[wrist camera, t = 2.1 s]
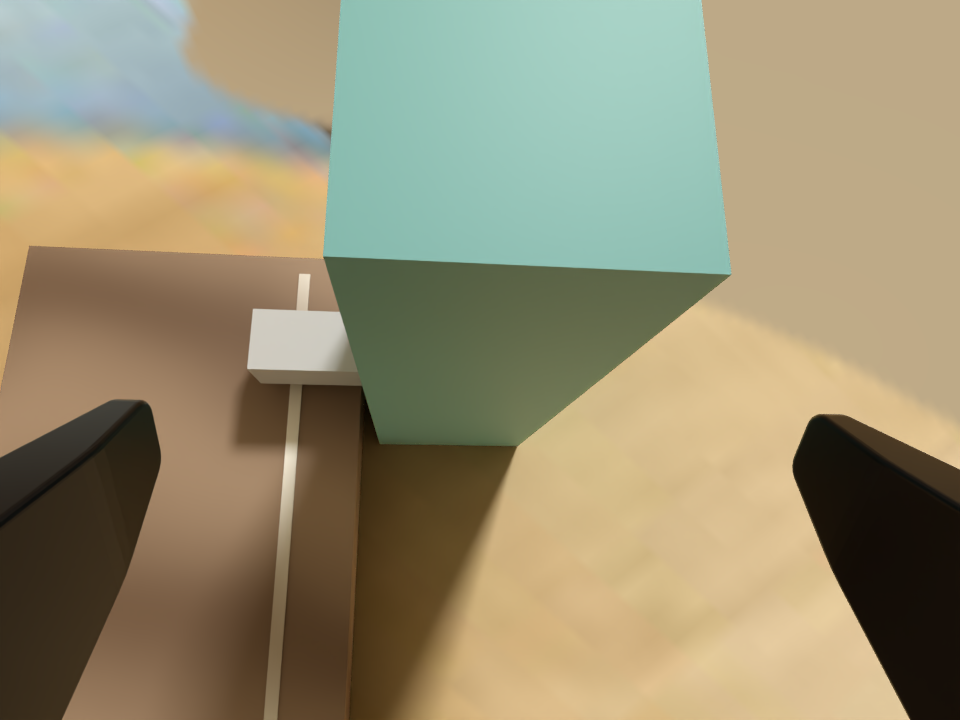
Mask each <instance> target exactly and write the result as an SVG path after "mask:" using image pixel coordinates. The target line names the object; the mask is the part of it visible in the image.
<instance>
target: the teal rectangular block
mask: <svg viewBox="0 0 960 720" xmlns="http://www.w3.org/2000/svg"><path fill="white" fill-rule="evenodd" d="M334 94H335V95H334V108H333V122H332V136H331V151H330V165H329V179H328V194H327V208H326V222H325V237H324V251H323V258H324V261H325V264H326V267H327V271H328V274H329V277H330V281H331V284H332V287H333V291H334V294H335V297H336V301H337V304H338V307H339V311H340V312H328V311H300V310H273V309H253V314H252V324H251V334H250V344H249V355H248V365H247V369H248V370H249V371H250V373H251V374H252V375H253V376H254V377H255V378H256V379H257V380H258V381H259V382H260V383H267V384H307V385H348V386H362V387H363V390H364V393H365V397H366V400H367V403H368V407H369V410H370V413H371V417H372V420H373V423H374V427H375V430H376V433H377V437H378V440H379V443H380V444H406V445H472V446H518V445H519V444H521V443H522V442H523V441H524V440H526V439H527V438H528V437H529V436H531V435H532V434H533V433H534V432H536V431H537V430H538V429H539V428H541V427H542V426H543V425H544V424H546V423H547V422H548V421H549V420H551V419H552V418H553V417H554V416H556V415H557V414H558V413H559V412H561V411H562V410H563V409H564V408H566V407H567V406H568V405H569V404H571V403H572V402H573V401H574V400H576V399H577V398H578V397H579V396H581V395H582V394H583V393H584V392H586V391H587V390H588V389H589V388H591V387H592V386H593V385H594V384H596V383H597V382H598V381H599V380H601V379H602V378H603V377H604V376H606V375H607V374H608V373H609V372H611V371H612V370H613V369H614V368H616V367H617V366H618V365H619V364H621V363H622V362H623V361H624V360H625V359H627V358H628V357H629V356H630V355H632V354H633V353H634V352H635V351H637V350H638V349H639V348H640V347H642V346H643V345H644V344H645V343H647V342H648V341H649V340H650V339H652V338H653V337H654V336H655V335H657V334H658V333H659V332H660V331H662V330H663V329H664V328H665V327H667V326H668V325H669V324H670V323H672V322H673V321H674V320H675V319H677V318H678V317H679V316H680V315H682V314H683V313H684V312H685V311H687V310H688V309H689V308H690V307H692V306H693V305H694V304H695V303H697V302H698V301H699V300H700V299H702V298H703V297H704V296H705V295H707V294H708V293H709V292H710V291H712V290H713V289H714V288H715V287H717V286H718V285H719V284H720V283H722V282H723V281H724V280H725V279H727V278H728V277H729V276H730V275H731V267H730V258H729V249H728V240H727V230H726V223H725V212H724V203H723V194H722V185H721V176H720V167H719V157H718V148H717V140H716V130H715V121H714V112H713V103H712V94H711V85H710V76H709V66H708V57H707V48H706V39H705V29H704V21H703V11H702V3H701V0H341V8H340V23H339V36H338V51H337V66H336V79H335V93H334Z"/></svg>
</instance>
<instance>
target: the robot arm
mask: <svg viewBox="0 0 960 720" xmlns="http://www.w3.org/2000/svg"><path fill="white" fill-rule="evenodd" d="M160 465H161V450H160V445H159V440H158V436H157V431H156V426H155V422H154V417H153V412H152V409H151V407H150V405H149V403H147V402H146V401H144V400H132V399H114V400H110V401H108V402H106V403H104V404H102V405H100V406H98V407H96V408H94V409H92V410H90V411H89V412H87V413H85V414H83V415H81V416H79V417H77V418H75V419H73V420H71V421H69V422H67V423H65V424H63V425H62V426H60V427H58V428H56V429H54V430H52V431H50V432H48V433H46V434H44V435H42V436H40V437H38V438H36V439H35V440H33V441H31V442H29V443H27V444H25V445H23V446H21V447H19V448H17V449H15V450H13V451H11V452H9V453H7V454H6V455H4V456H2V457H0V720H62V718H63V716H64V714H65V712H66V710H67V707H68V705H69V703H70V701H71V698H72V696H73V694H74V692H75V689H76V687H77V685H78V683H79V681H80V678H81V676H82V674H83V672H84V669H85V667H86V665H87V663H88V660H89V658H90V656H91V654H92V651H93V649H94V647H95V645H96V643H97V640H98V638H99V636H100V634H101V631H102V629H103V627H104V625H105V622H106V620H107V618H108V616H109V614H110V611H111V609H112V607H113V605H114V602H115V600H116V598H117V596H118V593H119V591H120V589H121V586H122V584H123V582H124V579H125V577H126V574H127V572H128V569H129V566H130V563H131V560H132V557H133V554H134V551H135V547H136V544H137V541H138V538H139V535H140V531H141V528H142V525H143V522H144V519H145V515H146V512H147V509H148V506H149V502H150V499H151V496H152V493H153V490H154V486H155V483H156V480H157V477H158V473H159V470H160ZM792 466H793V475H794V478H795V481H796V483H797V486H798V488H799V491H800V493H801V496H802V498H803V501H804V503H805V506H806V508H807V511H808V513H809V516H810V518H811V521H812V523H813V526H814V528H815V531H816V533H817V536H818V538H819V541H820V543H821V546H822V548H823V551H824V553H825V555H826V558H827V560H828V562H829V565H830V567H831V569H832V571H833V573H834V575H835V577H836V579H837V581H838V584H839V586H840V587H841V589H842V591H843V593H844V595H845V597H846V599H847V601H848V603H849V605H850V607H851V608H852V610H853V612H854V614H855V616H856V618H857V620H858V622H859V624H860V626H861V627H862V629H863V631H864V633H865V635H866V637H867V639H868V641H869V643H870V645H871V646H872V648H873V650H874V652H875V654H876V656H877V658H878V660H879V662H880V664H881V665H882V667H883V669H884V671H885V673H886V675H887V677H888V679H889V681H890V683H891V685H892V686H893V688H894V690H895V692H896V694H897V696H898V698H899V700H900V702H901V704H902V705H903V707H904V709H905V711H906V713H907V715H908V717H909V719H910V720H960V469H957V468H955V467H953V466H951V465H949V464H947V463H945V462H943V461H941V460H939V459H936V458H934V457H932V456H930V455H928V454H926V453H924V452H922V451H920V450H918V449H916V448H913V447H911V446H909V445H907V444H905V443H903V442H901V441H899V440H897V439H895V438H892V437H890V436H888V435H886V434H884V433H882V432H880V431H878V430H876V429H874V428H872V427H869V426H867V425H865V424H863V423H861V422H859V421H857V420H855V419H853V418H851V417H848V416H846V415H840V414H818V415H816V416H814V417H812V418H811V420H810V421H809V423H808V425H807V427H806V429H805V432H804V434H803V437H802V439H801V442H800V444H799V446H798V449H797V451H796V454H795V456H794V459H793V465H792Z"/></svg>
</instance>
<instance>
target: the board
mask: <svg viewBox="0 0 960 720" xmlns="http://www.w3.org/2000/svg"><path fill="white" fill-rule="evenodd" d="M253 309H273V310H300V311H328V312H340V311H339V307H338V304H337V301H336V297H335V294H334V291H333V287H332V284H331V281H330V277H329V274H328V271H327V267H326V264H325V261H324V259H312V258H290V257H267V256H245V255H222V254H200V253H177V252H155V251H132V250H110V249H88V248H65V247H43V246H29V250H28V255H27V260H26V265H25V270H24V275H23V280H22V285H21V290H20V295H19V300H18V305H17V310H16V315H15V320H14V325H13V330H12V335H11V340H10V345H9V350H8V355H7V360H6V365H5V370H4V375H3V380H2V385H1V390H0V457H2V456H4V455H6V454H7V453H9V452H11V451H13V450H15V449H17V448H19V447H21V446H23V445H25V444H27V443H29V442H31V441H33V440H35V439H36V438H38V437H40V436H42V435H44V434H46V433H48V432H50V431H52V430H54V429H56V428H58V427H60V426H62V425H63V424H65V423H67V422H69V421H71V420H73V419H75V418H77V417H79V416H81V415H83V414H85V413H87V412H89V411H90V410H92V409H94V408H96V407H98V406H100V405H102V404H104V403H106V402H108V401H110V400H114V399H132V400H144V401H146V402H147V403H149V405H150V407H151V409H152V412H153V417H154V422H155V426H156V431H157V436H158V440H159V445H160V450H161V465H160V470H159V473H158V477H157V480H156V483H155V486H154V490H153V493H152V496H151V499H150V502H149V506H148V509H147V512H146V515H145V519H144V522H143V525H142V528H141V531H140V535H139V538H138V541H137V544H136V547H135V551H134V554H133V557H132V560H131V563H130V566H129V569H128V572H127V574H126V577H125V579H124V582H123V584H122V586H121V589H120V591H119V593H118V596H117V598H116V600H115V602H114V605H113V607H112V609H111V611H110V614H109V616H108V618H107V620H106V622H105V625H104V627H103V629H102V631H101V634H100V636H99V638H98V640H97V643H96V645H95V647H94V649H93V651H92V654H91V656H90V658H89V660H88V663H87V665H86V667H85V669H84V672H83V674H82V676H81V678H80V681H79V683H78V685H77V687H76V689H75V692H74V694H73V696H72V698H71V701H70V703H69V705H68V707H67V710H66V712H65V714H64V716H63V718H62V720H349V713H350V692H351V672H352V651H353V630H354V610H355V589H356V568H357V548H358V527H359V506H360V486H361V465H362V444H363V424H364V403H365V393H364V390H363V387H362V386H348V385H307V384H267V383H260V382H259V381H258V380H257V379H256V378H255V377H254V376H253V375H252V374H251V373H250V371H249V370H248V369H247V365H248V355H249V344H250V334H251V324H252V314H253Z"/></svg>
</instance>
